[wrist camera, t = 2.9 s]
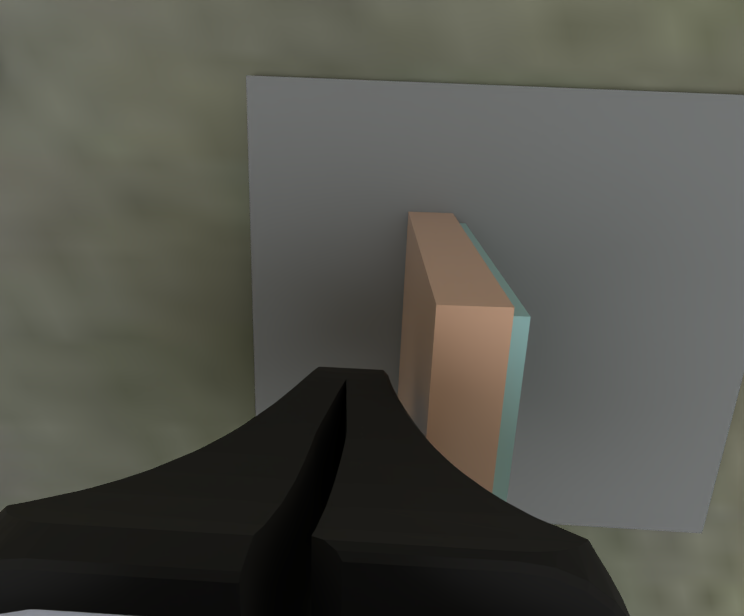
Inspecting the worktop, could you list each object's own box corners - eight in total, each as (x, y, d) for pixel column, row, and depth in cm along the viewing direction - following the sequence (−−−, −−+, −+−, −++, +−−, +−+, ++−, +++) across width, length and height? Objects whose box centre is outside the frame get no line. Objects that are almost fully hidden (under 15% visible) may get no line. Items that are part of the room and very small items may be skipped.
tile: (445, 427, 17) (492, 636, 11) (396, 425, 17) (411, 633, 11) (464, 213, 15) (535, 308, 9) (408, 211, 15) (436, 305, 9)
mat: (692, 519, 19) (702, 533, 18) (262, 493, 19) (258, 506, 18) (799, 97, 15) (815, 97, 14) (252, 75, 15) (246, 75, 14)
